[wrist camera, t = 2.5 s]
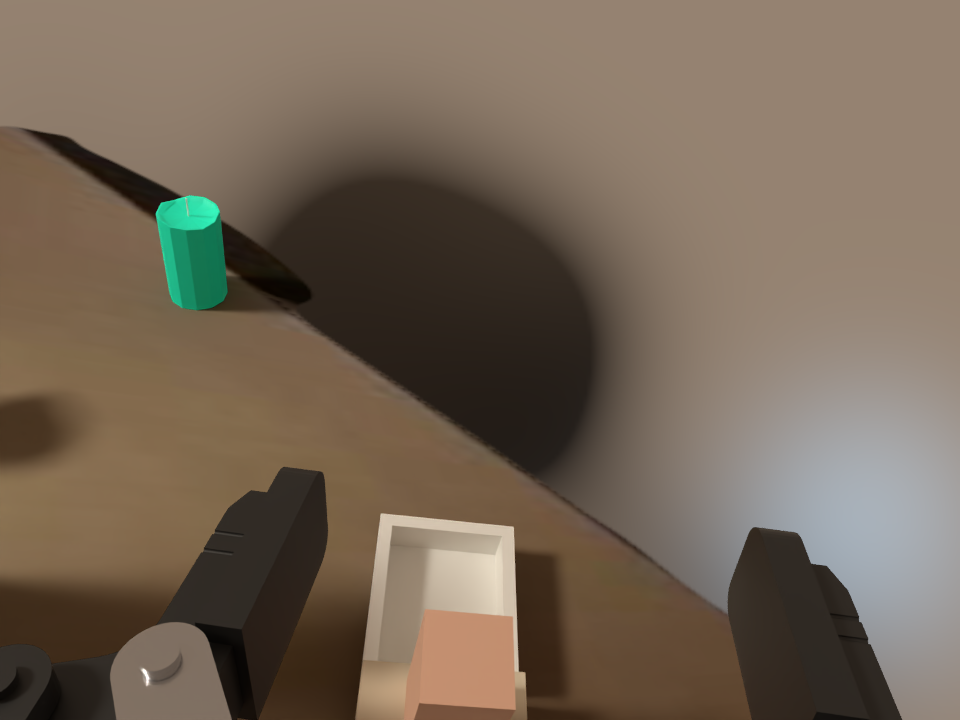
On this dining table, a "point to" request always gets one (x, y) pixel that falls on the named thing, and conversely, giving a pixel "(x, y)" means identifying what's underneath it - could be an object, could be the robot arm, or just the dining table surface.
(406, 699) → the terracotta block
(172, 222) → the candle
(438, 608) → the tray
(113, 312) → the dining table surface
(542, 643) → the dining table surface
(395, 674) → the cream block
